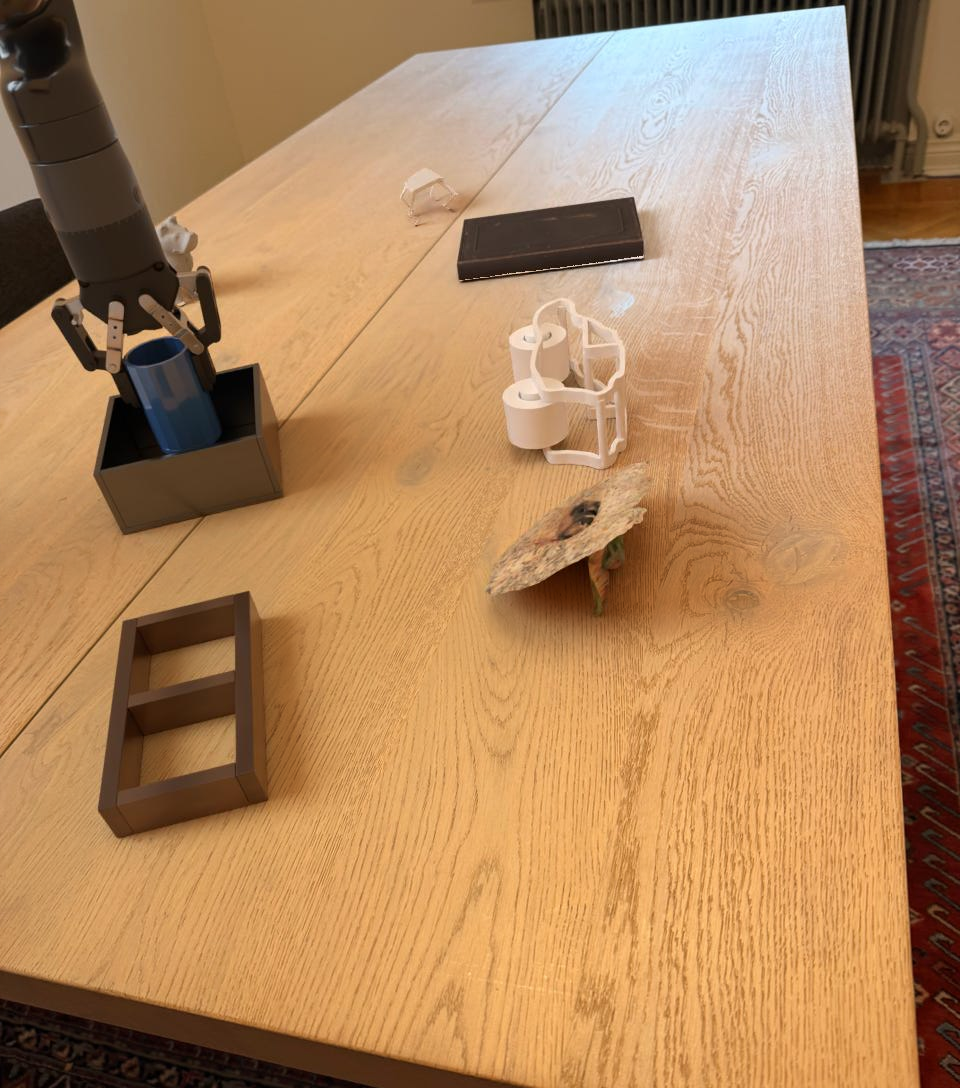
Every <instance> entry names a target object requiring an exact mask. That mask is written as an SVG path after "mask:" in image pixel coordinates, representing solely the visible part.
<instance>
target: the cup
mask: <svg viewBox="0 0 960 1088" xmlns="http://www.w3.org/2000/svg"><path fill="white" fill-rule="evenodd" d="M191 354H192V352H191V351H190V350H189V349H188V348H187V347H186V346H185V345H184V344H183V343H182V342H181V341H180V340H179V339H178V338H175V337H174V336H173V335H167V336H160V337H154V338H152V339H149V340H146V341H143V342H141V343H139V344H137V345H136V346H134V347H132V348H131V349H129V350H128V351H127V352H126V353H125V354H124V355H123V357H122V358H123V364H124V366H125V369H126V371H127V373H128V376H129V378H130V380H131V382H132V385H133V387H134V389H135V392H136V394H137V396H138V399H139V401H140V403H141V405H142V408H143V410H144V412H145V415H146V417H147V419H148V421H149V424H150V426H151V428H152V431H153V433H154V435H155V438H156V440H157V442H158V444H159V445H160V448H161V450H162V451H163V452H165V453H166V454H173V453H178V452H182V451H186V450H190V449H195V448H199V447H203V446H208V445H212V444H213V443H215V442H216V441H217V440H218V439H219V437H220V436H221V433H222V429H221V426H220V422H219V419H218V417H217V414H216V411H215V409H214V406H213V403H212V401H211V398H210V395H209V393H208V391H207V392H205V391H204V389H203V387H202V384H201V382H200V379H199V376H198V374H197V371H196V368H195V366H194V363H193V361H192V358H191Z"/></svg>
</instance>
